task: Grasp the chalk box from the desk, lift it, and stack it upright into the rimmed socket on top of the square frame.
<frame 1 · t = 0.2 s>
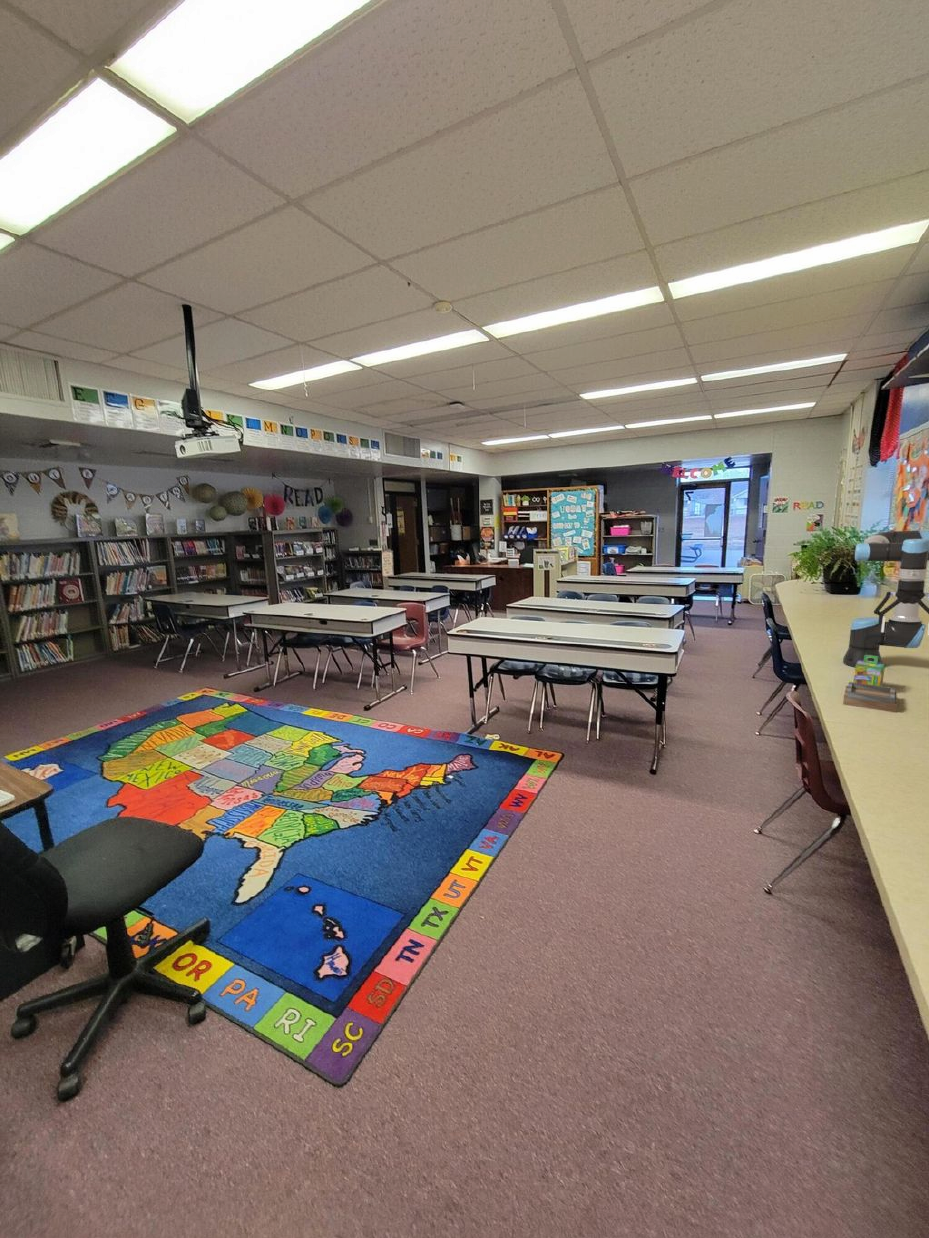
hand: (905, 633, 193), 27 cm above the table, fingers open, 13 cm apart
square frame: (869, 701, 197), on the table
chalk box: (867, 689, 210), on the table
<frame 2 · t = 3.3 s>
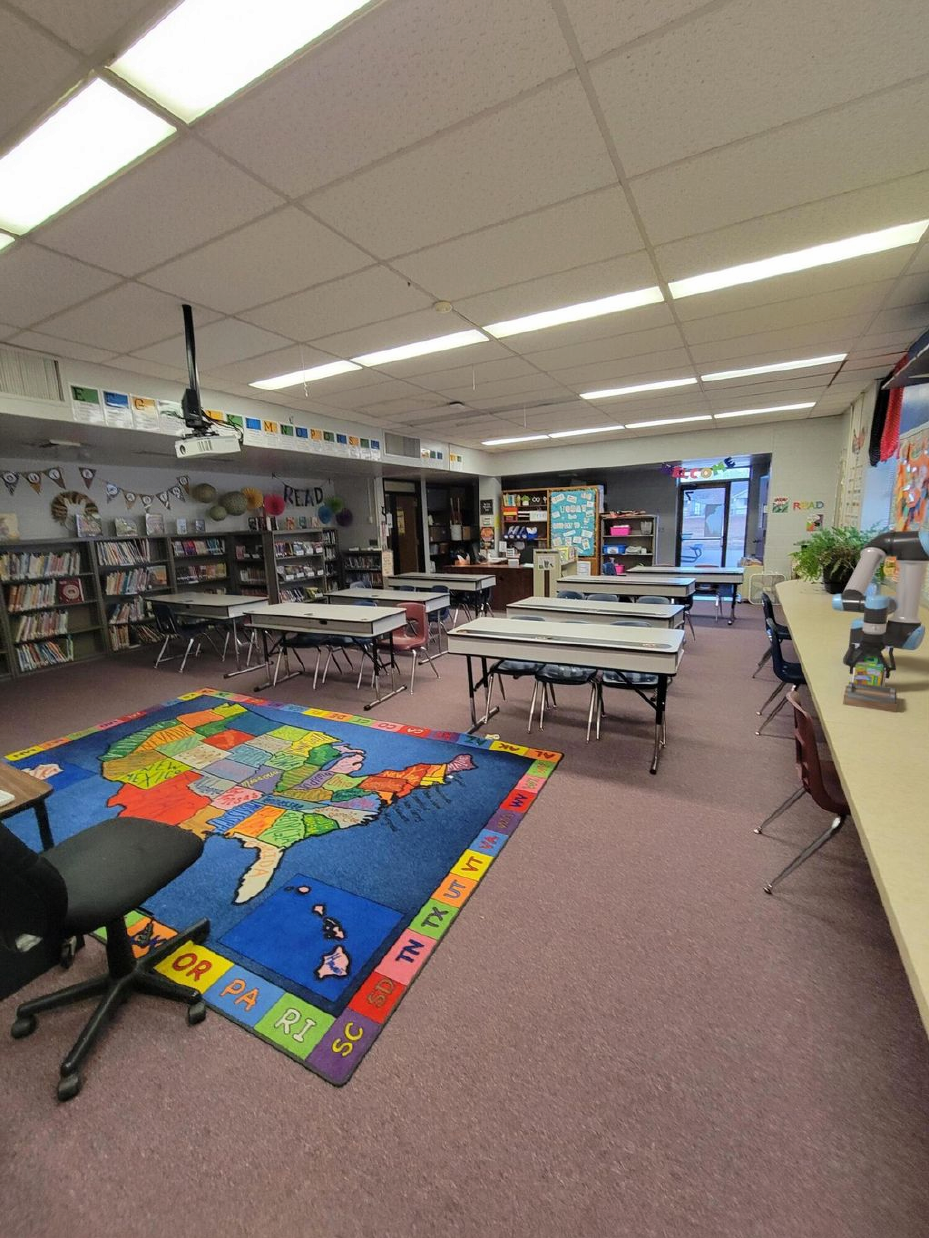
hand: (868, 683, 210), 3 cm above the table, fingers closed on chalk box, 9 cm apart
chalk box: (867, 689, 210), on the table, touching gripper
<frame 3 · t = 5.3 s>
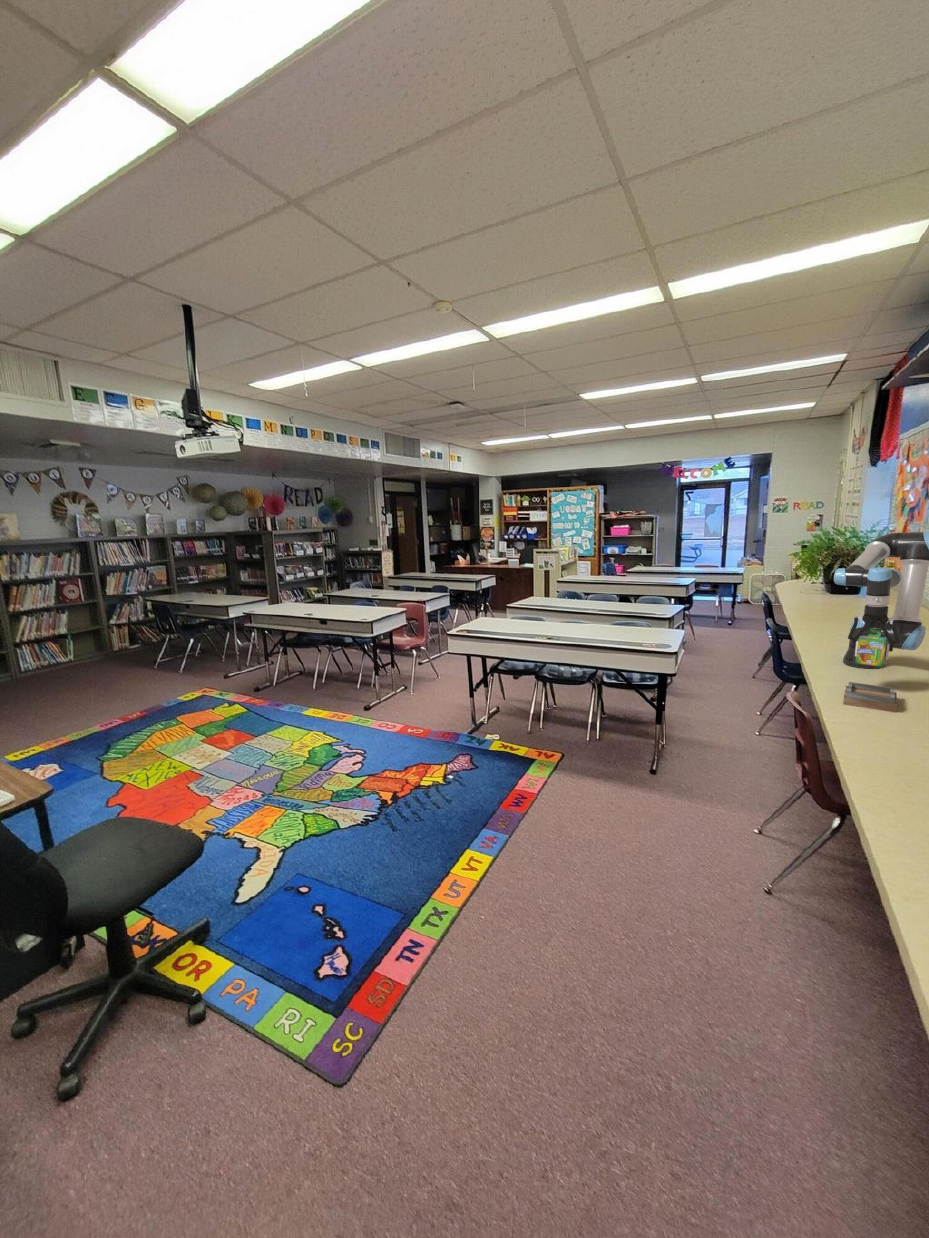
hand: (871, 657, 208), 14 cm above the table, fingers closed on chalk box, 9 cm apart
chalk box: (870, 663, 208), point 11 cm above the table, touching gripper
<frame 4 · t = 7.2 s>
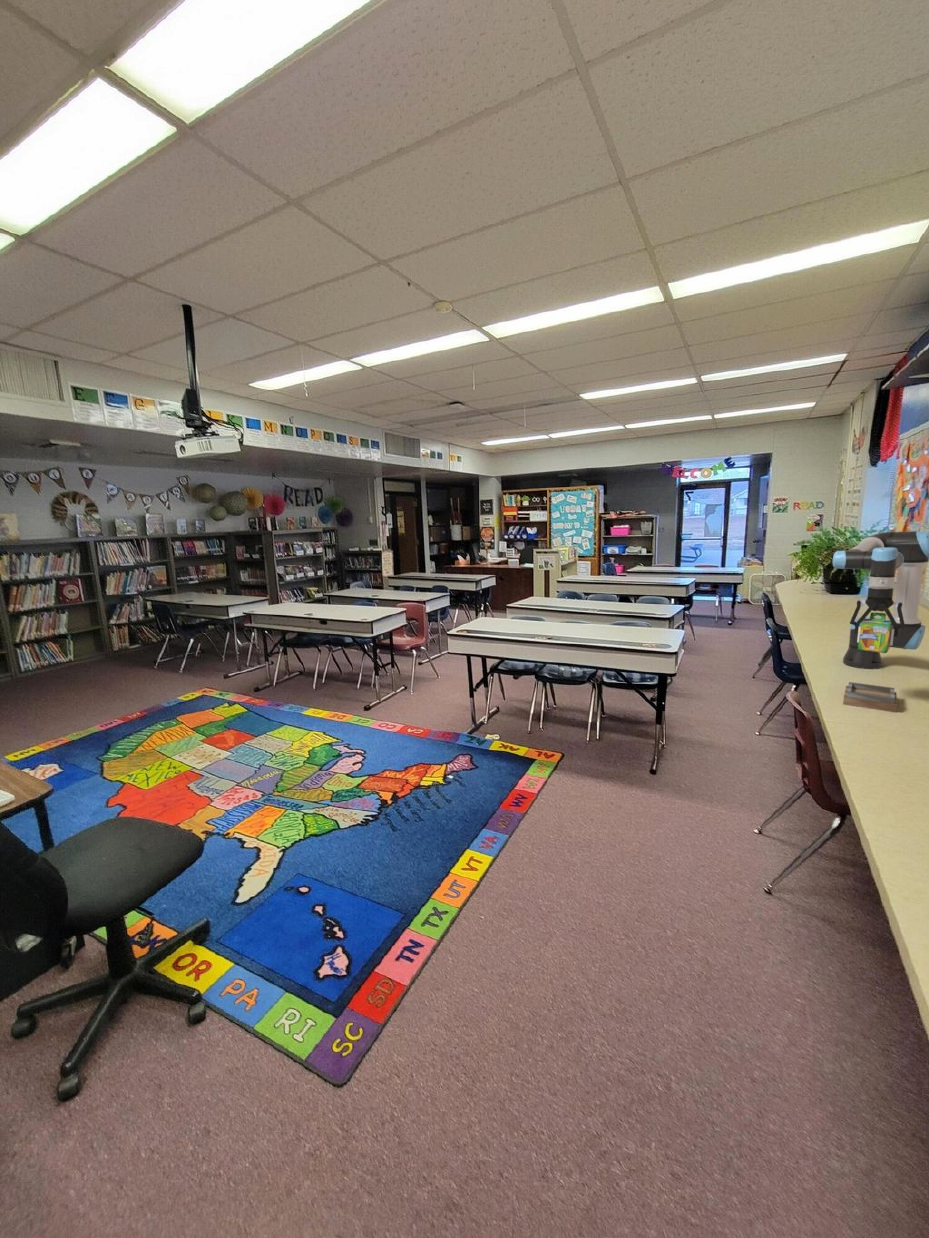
hand: (874, 643, 195), 23 cm above the table, fingers closed on chalk box, 9 cm apart
chalk box: (873, 650, 196), point 21 cm above the table, touching gripper
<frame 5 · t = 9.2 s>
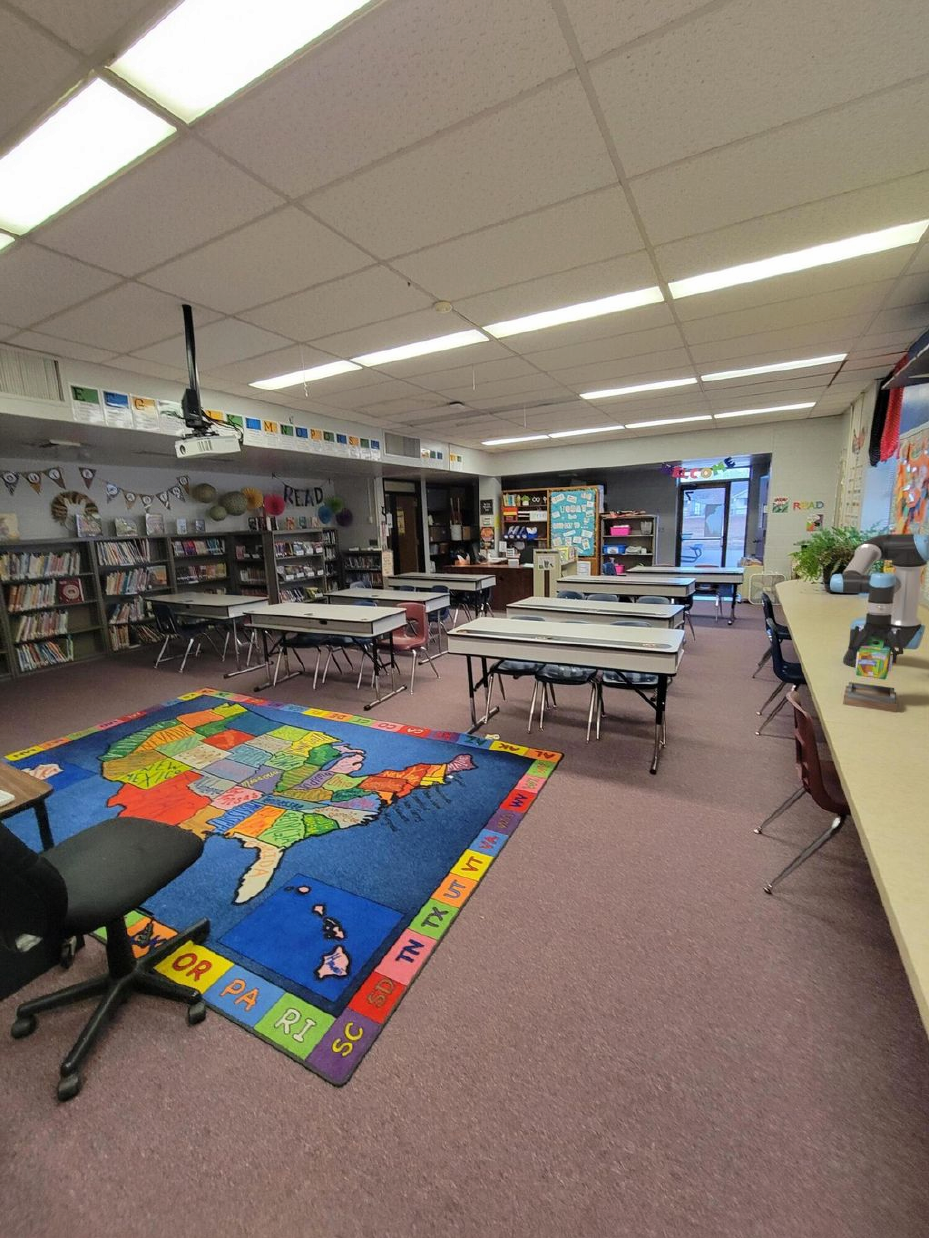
hand: (873, 668, 194), 14 cm above the table, fingers closed on chalk box, 9 cm apart
chalk box: (872, 675, 195), point 11 cm above the table, touching gripper
when the fingers open (7 cm above the table, at t = 11.0 s): chalk box drops 1 cm, resting on square frame.
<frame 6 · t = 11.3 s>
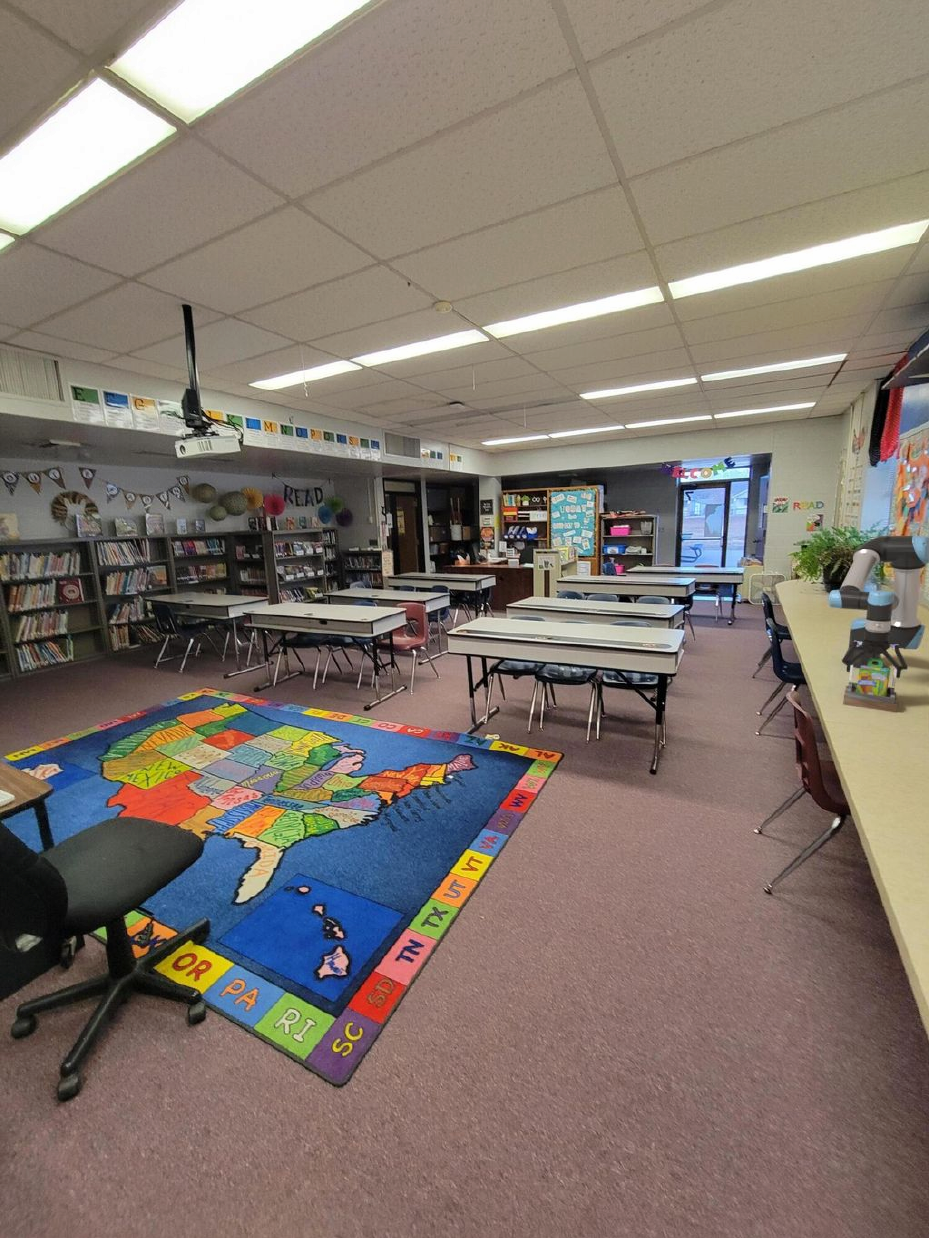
hand: (871, 682, 195), 8 cm above the table, fingers open, 13 cm apart
chalk box: (871, 695, 196), point 3 cm above the table, touching square frame
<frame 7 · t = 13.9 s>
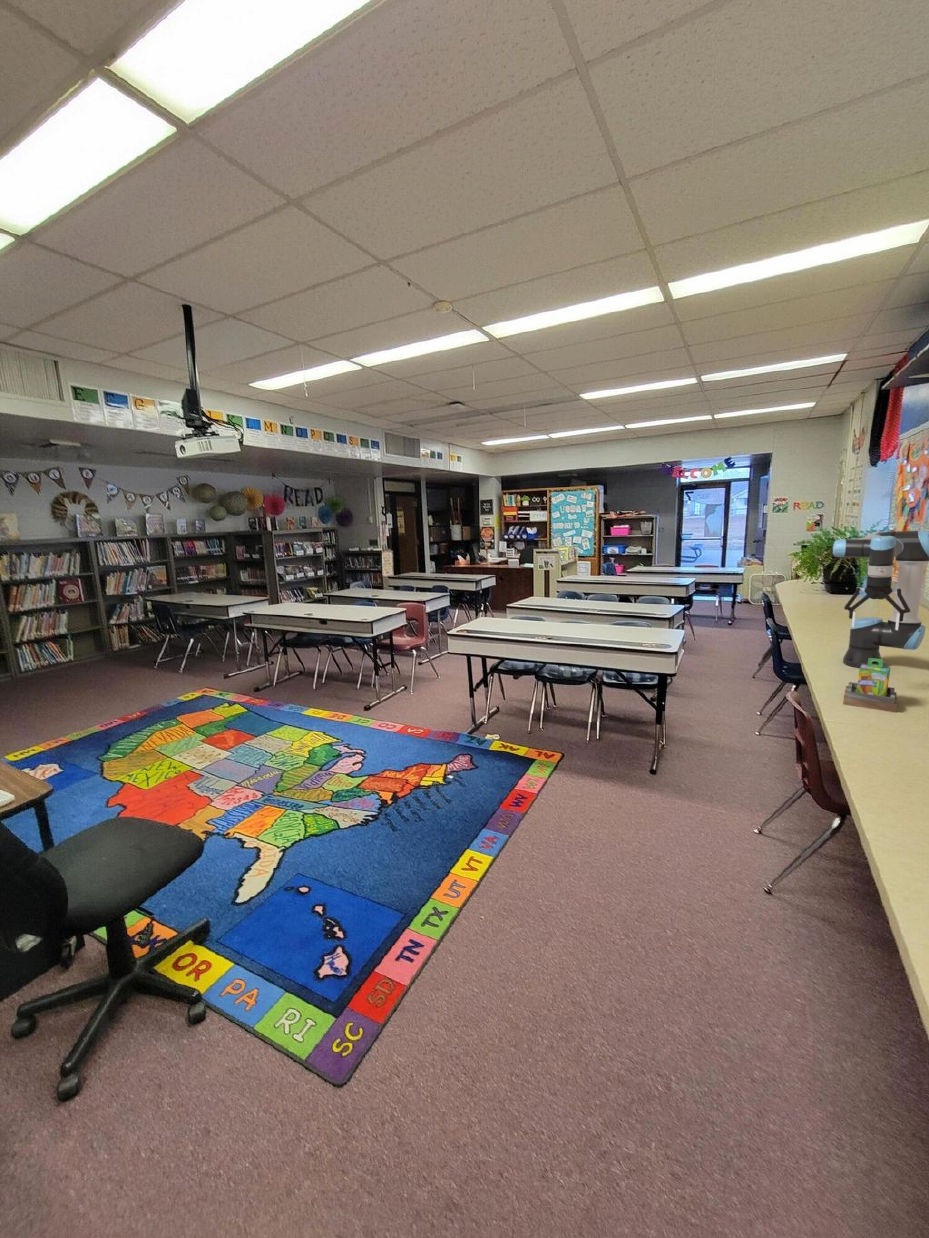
hand: (874, 628, 198), 29 cm above the table, fingers open, 13 cm apart
nothing on the table moved.
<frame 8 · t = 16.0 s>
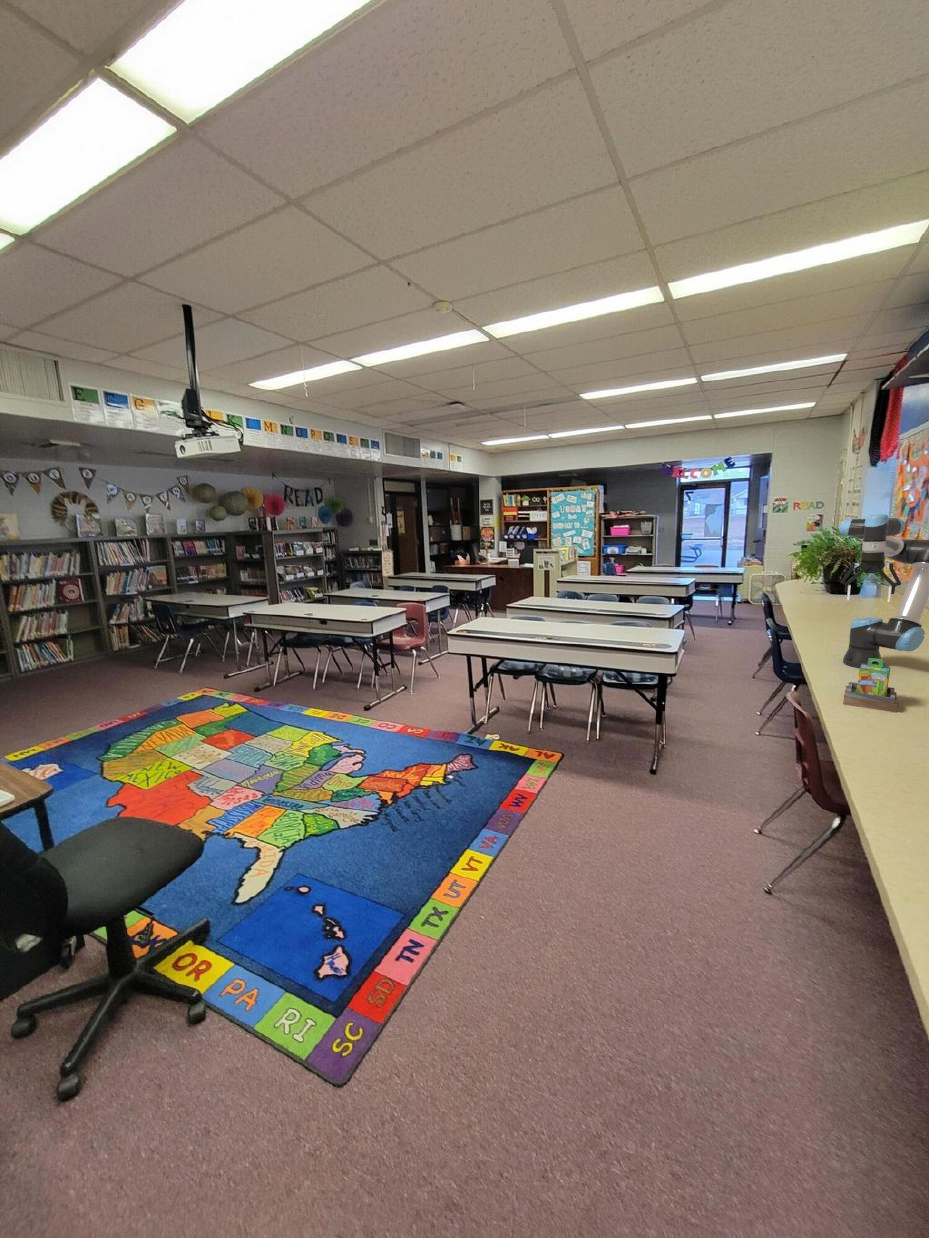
hand: (868, 600, 212), 37 cm above the table, fingers open, 13 cm apart
nothing on the table moved.
at the end: chalk box 0.5 cm off-centre on the square frame, point 2.8 cm above the square frame's base; chalk box tilted 0°; the gripper is holding nothing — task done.
